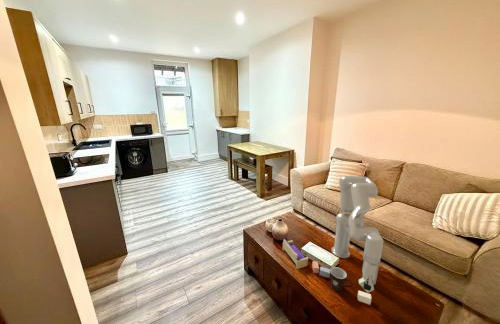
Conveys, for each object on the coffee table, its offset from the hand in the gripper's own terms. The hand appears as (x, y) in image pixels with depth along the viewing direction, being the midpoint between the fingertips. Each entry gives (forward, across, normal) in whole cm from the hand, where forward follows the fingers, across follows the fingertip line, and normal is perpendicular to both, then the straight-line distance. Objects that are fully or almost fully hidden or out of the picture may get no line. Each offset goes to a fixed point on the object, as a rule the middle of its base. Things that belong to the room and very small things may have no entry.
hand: (366, 286), depth 109 cm
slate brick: (+9, -10, -22) cm, 26 cm away
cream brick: (+10, 0, 0) cm, 10 cm away
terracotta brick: (+9, -12, -28) cm, 32 cm away
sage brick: (0, 0, -2) cm, 2 cm away
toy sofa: (+9, -17, -43) cm, 47 cm away
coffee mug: (+10, -2, -13) cm, 17 cm away
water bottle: (+9, -17, +4) cm, 20 cm away
